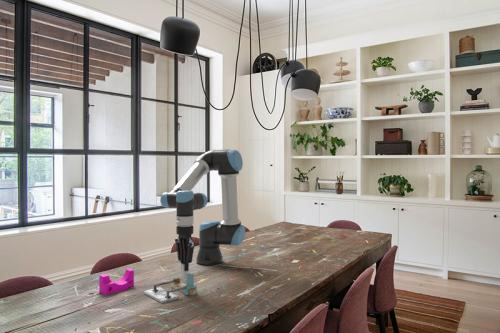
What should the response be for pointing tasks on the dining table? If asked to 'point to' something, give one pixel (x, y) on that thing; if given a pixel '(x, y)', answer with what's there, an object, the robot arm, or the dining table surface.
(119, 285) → the toy block
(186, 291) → the sliding trammel head
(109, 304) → the dining table surface
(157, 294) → the bolt plate
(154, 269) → the dining table surface
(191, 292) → the rail
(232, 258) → the dining table surface
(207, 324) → the dining table surface
